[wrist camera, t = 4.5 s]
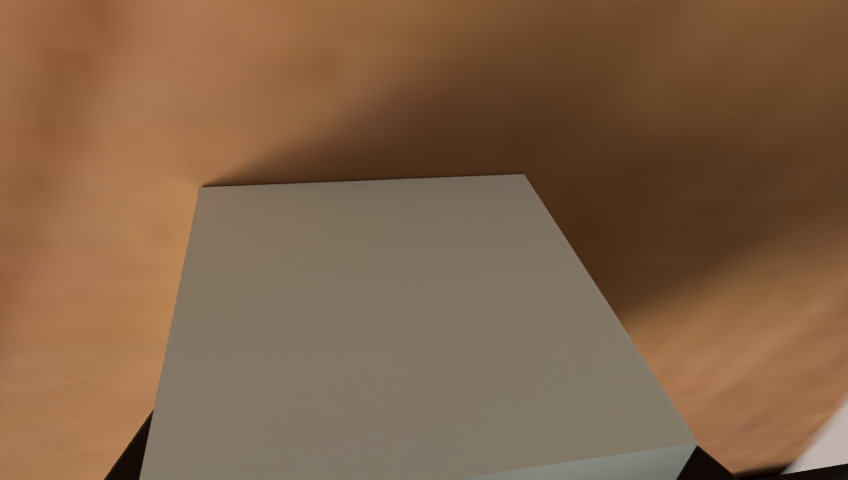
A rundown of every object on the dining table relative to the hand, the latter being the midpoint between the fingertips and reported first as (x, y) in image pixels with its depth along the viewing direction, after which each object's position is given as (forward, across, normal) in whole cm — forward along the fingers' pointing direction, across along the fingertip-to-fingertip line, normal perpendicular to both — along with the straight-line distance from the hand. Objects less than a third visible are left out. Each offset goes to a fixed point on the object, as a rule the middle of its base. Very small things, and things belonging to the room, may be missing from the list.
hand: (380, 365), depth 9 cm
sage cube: (+2, 0, 0) cm, 2 cm away
